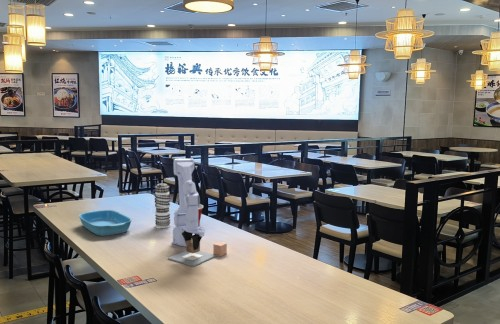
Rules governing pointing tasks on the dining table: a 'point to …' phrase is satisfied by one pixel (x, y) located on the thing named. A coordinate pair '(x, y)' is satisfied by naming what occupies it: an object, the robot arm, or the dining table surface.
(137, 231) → the dining table surface
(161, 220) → the white striped cylinder
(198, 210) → the plastic cup
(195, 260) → the board
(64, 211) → the dining table surface
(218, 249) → the terracotta block
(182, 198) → the robot arm
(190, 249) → the walnut block
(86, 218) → the casserole dish
